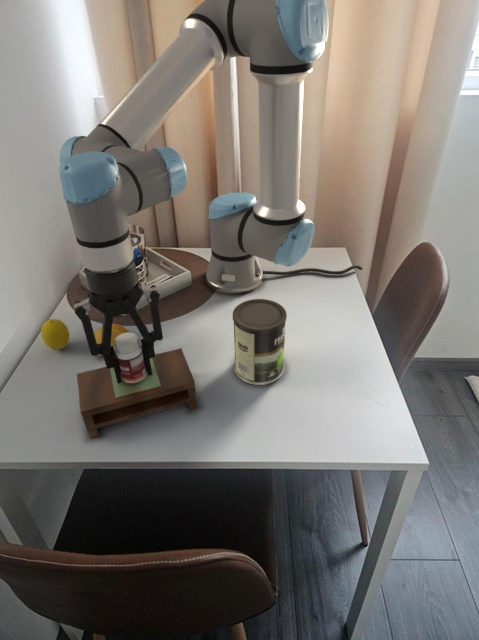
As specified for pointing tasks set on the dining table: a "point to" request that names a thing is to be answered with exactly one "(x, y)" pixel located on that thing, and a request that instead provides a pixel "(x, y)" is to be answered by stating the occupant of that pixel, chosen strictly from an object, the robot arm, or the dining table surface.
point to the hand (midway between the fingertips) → (134, 374)
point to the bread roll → (115, 332)
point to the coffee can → (259, 341)
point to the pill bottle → (130, 358)
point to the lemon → (55, 334)
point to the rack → (135, 392)
